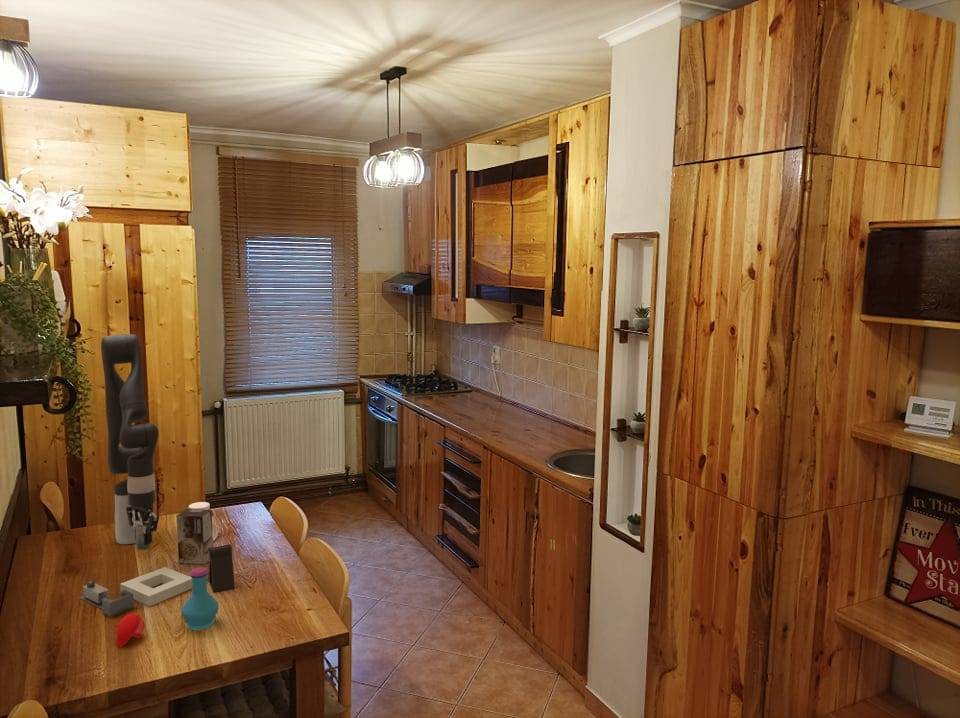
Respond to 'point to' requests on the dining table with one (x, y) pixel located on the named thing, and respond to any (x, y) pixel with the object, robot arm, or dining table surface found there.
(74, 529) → the dining table surface
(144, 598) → the socket
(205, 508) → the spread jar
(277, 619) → the dining table surface
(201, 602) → the perfume bottle
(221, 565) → the phone stand
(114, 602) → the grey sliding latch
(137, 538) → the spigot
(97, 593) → the bolt
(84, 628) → the dining table surface
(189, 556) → the coffee box
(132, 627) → the cap
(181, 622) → the dining table surface
